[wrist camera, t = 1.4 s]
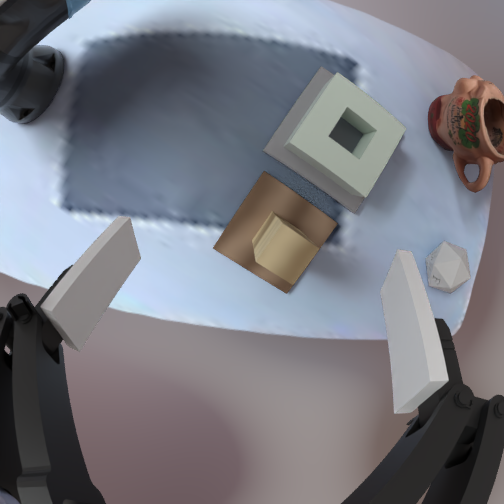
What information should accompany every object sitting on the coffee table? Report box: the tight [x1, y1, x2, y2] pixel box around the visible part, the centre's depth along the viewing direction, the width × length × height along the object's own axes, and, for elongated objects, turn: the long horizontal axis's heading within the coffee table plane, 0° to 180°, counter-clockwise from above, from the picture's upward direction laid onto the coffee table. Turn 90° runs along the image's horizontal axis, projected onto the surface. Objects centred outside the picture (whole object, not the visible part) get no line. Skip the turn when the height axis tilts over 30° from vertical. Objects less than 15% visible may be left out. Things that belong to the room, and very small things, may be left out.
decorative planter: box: [428, 75, 504, 193], centre depth 30 cm, size 20×12×14 cm, turn 176°
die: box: [425, 241, 471, 293], centre depth 39 cm, size 8×9×10 cm
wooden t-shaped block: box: [213, 171, 338, 294], centre depth 35 cm, size 13×13×11 cm
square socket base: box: [263, 67, 406, 213], centre depth 34 cm, size 16×16×6 cm
